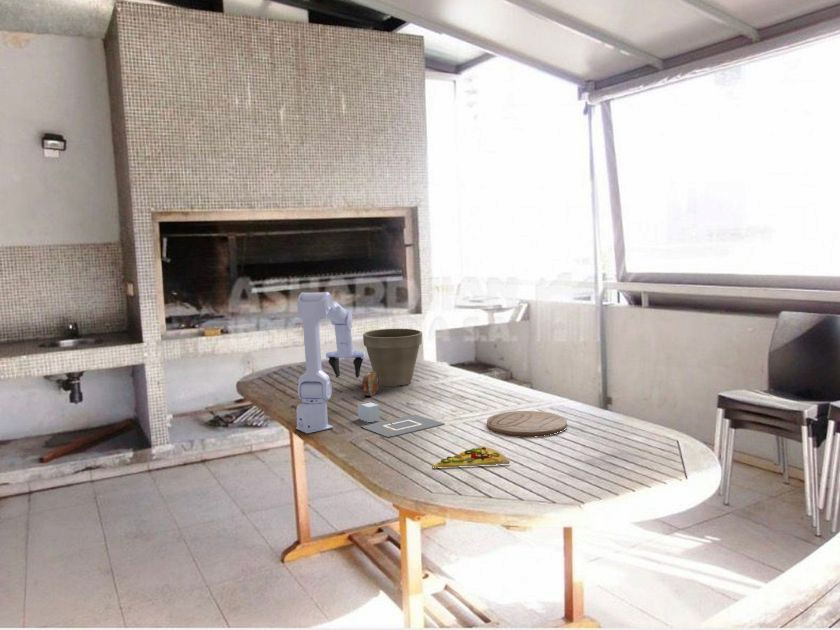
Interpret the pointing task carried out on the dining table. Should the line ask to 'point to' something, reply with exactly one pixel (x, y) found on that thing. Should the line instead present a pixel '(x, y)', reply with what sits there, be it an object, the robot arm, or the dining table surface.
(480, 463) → the pizza slice
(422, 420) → the mat
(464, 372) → the dining table surface
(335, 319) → the robot arm
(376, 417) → the card box
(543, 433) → the trivet
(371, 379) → the bread slice
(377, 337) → the plant pot
